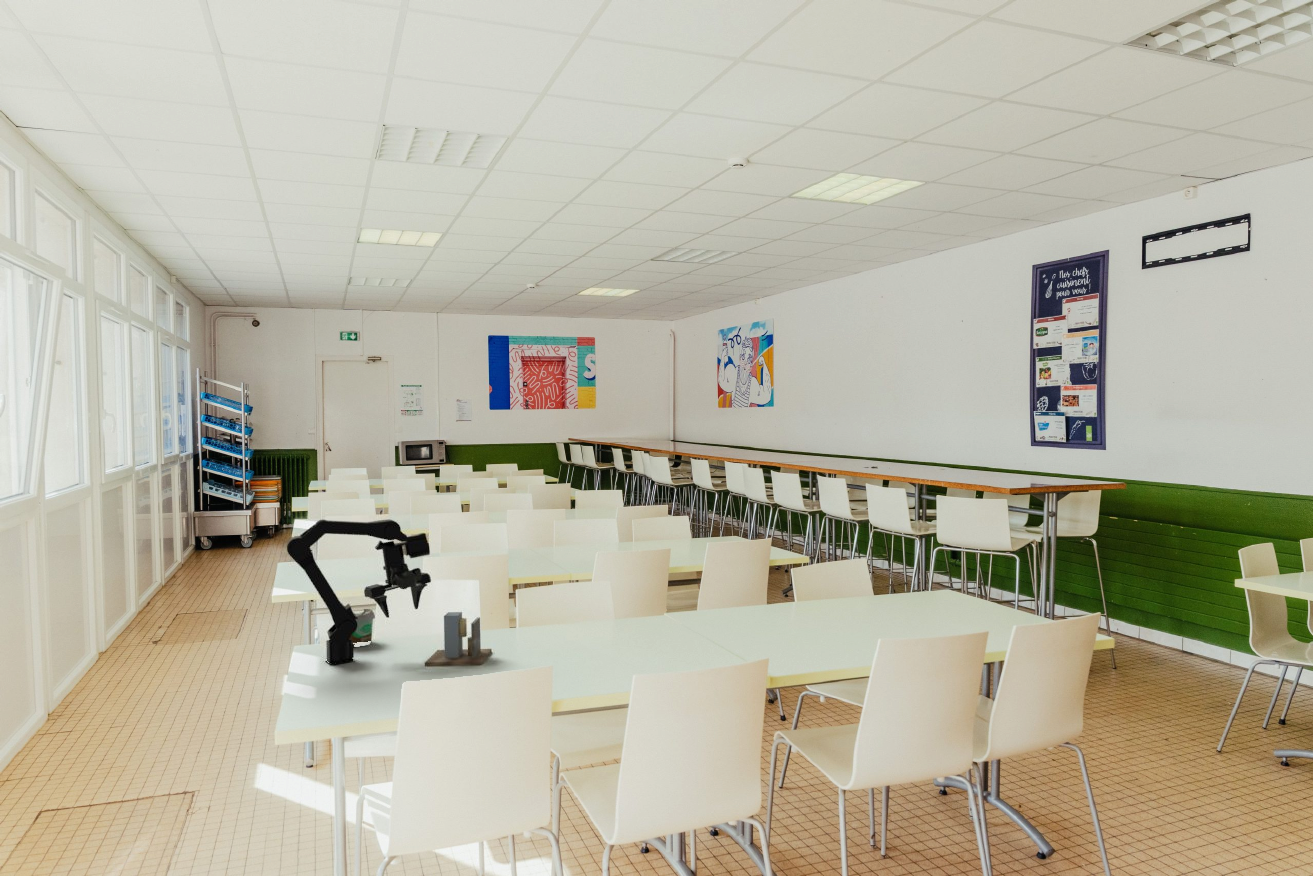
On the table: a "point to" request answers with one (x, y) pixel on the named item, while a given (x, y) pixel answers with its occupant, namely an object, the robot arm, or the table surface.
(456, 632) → the loose hinge leaf
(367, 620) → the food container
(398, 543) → the robot arm
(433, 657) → the hinge jig
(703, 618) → the table surface
